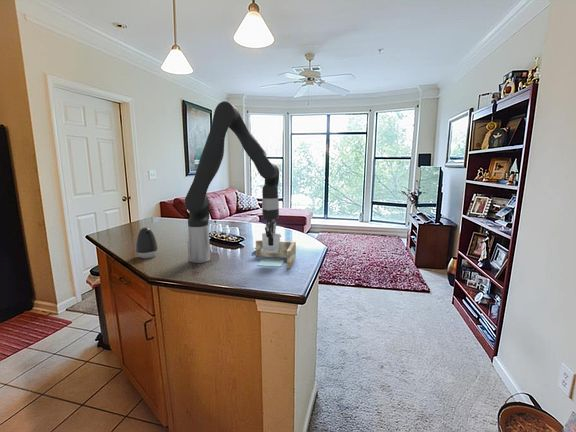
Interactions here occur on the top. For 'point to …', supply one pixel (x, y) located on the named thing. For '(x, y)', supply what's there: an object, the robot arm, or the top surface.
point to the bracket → (276, 243)
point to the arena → (285, 251)
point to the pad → (271, 263)
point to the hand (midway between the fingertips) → (271, 244)
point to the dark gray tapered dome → (146, 243)
